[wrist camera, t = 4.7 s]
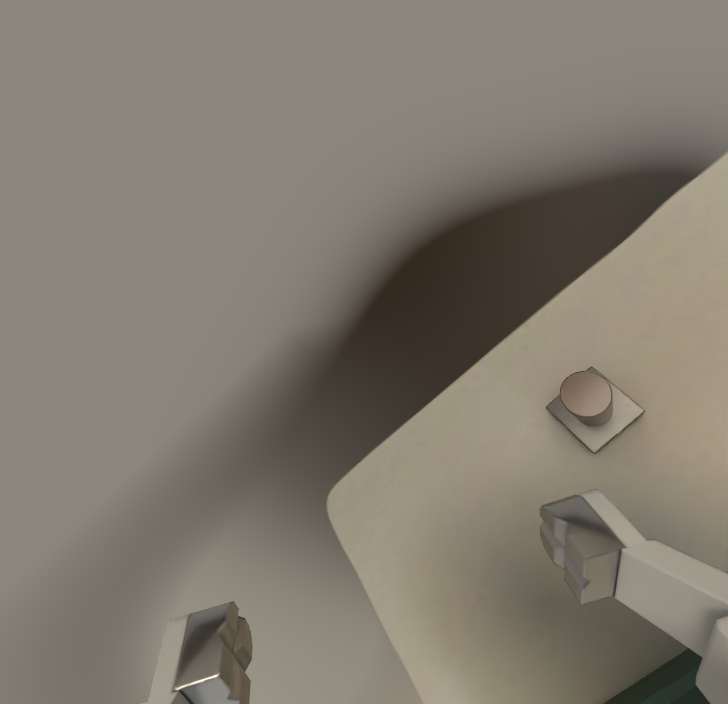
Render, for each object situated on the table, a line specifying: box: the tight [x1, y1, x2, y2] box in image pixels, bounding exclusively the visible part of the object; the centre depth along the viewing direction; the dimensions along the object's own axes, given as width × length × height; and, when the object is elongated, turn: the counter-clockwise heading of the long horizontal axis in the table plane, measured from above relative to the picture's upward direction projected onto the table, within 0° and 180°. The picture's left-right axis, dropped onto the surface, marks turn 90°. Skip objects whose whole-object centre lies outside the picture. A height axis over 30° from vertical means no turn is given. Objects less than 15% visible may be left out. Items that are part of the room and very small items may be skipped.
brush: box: [546, 366, 645, 453], centre depth 30 cm, size 5×5×13 cm
